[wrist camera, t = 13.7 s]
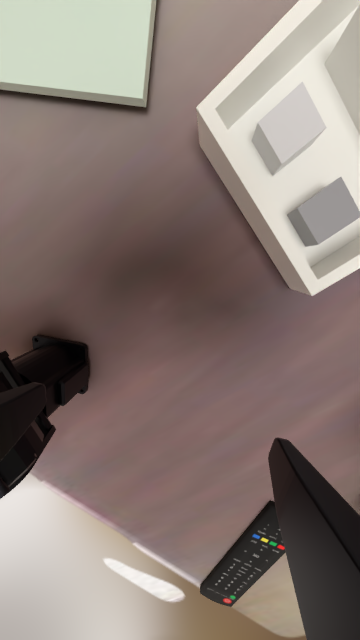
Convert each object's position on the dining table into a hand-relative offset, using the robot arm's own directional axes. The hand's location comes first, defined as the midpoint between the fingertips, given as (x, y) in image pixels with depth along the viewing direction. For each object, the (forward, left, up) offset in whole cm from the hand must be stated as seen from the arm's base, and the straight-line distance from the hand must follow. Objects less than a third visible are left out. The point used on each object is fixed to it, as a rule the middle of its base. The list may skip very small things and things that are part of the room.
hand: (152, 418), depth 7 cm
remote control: (+14, -34, -14) cm, 39 cm away
